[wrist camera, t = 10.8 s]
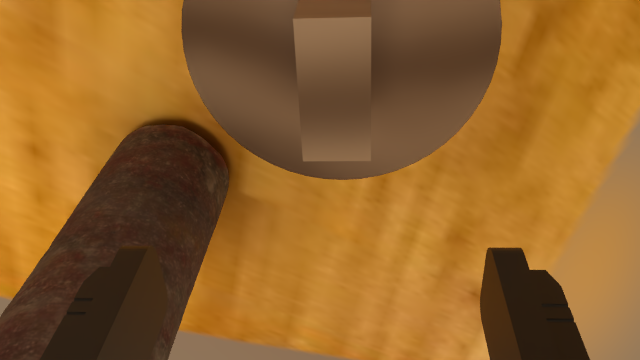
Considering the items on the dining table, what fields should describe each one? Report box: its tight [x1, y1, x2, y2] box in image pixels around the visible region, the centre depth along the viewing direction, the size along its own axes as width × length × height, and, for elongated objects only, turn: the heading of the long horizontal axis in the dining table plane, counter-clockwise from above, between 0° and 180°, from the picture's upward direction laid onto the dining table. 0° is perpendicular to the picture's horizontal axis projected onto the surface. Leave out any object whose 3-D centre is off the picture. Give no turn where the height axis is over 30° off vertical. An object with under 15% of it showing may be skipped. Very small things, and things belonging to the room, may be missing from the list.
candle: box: [0, 124, 229, 360], centre depth 30 cm, size 8×7×20 cm
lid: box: [182, 0, 502, 180], centre depth 25 cm, size 14×14×6 cm
